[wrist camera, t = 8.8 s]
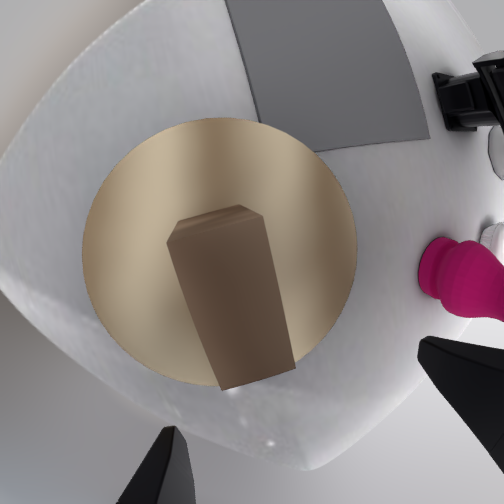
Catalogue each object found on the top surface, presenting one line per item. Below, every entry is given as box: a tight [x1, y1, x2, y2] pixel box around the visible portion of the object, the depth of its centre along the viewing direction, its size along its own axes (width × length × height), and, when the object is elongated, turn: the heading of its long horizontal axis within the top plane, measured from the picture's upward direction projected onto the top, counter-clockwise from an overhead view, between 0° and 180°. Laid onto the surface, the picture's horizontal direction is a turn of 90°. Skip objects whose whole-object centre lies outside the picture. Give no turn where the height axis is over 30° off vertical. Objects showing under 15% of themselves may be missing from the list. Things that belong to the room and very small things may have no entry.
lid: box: [82, 118, 357, 391], centre depth 12 cm, size 15×15×6 cm
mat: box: [225, 0, 430, 152], centre depth 17 cm, size 16×16×1 cm
